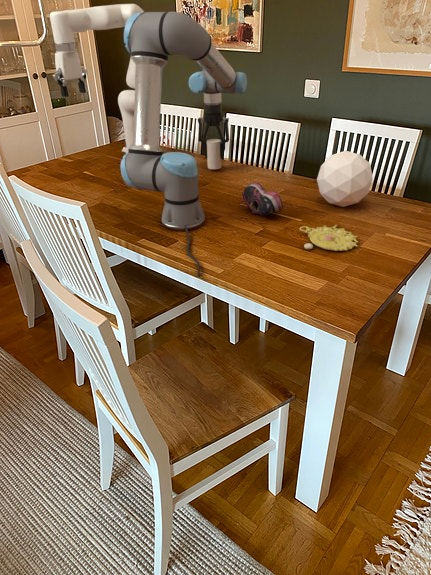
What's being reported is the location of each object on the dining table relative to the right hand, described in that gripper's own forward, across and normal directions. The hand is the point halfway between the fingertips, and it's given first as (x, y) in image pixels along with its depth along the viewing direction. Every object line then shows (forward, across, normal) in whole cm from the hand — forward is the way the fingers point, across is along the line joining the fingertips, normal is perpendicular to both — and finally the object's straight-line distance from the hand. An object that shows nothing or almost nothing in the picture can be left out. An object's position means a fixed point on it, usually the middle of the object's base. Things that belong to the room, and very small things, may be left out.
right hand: (214, 157), depth 201 cm
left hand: (-28, +56, +14) cm, 64 cm away
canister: (+5, 0, 0) cm, 5 cm away
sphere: (+6, -55, +34) cm, 65 cm away
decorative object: (+6, -50, +65) cm, 82 cm away
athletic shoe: (+6, -25, +45) cm, 52 cm away
